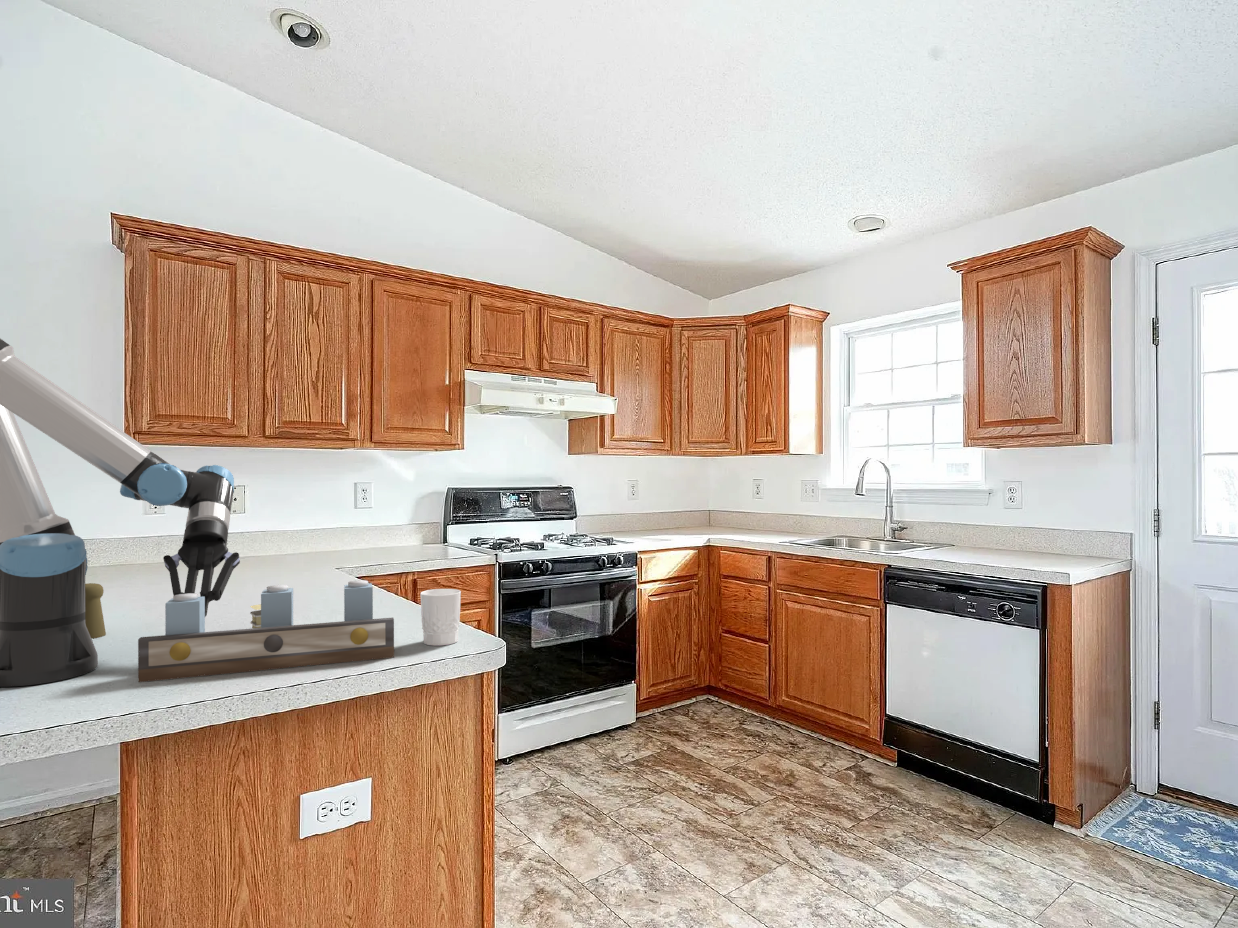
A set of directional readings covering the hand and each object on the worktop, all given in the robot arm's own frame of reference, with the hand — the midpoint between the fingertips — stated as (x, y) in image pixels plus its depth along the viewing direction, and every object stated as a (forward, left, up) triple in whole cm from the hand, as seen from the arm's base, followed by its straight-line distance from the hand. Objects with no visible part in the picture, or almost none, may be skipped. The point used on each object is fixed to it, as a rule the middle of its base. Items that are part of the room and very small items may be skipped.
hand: (191, 631), depth 126 cm
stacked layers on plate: (+16, +23, -7) cm, 29 cm away
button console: (+13, -5, -6) cm, 15 cm away
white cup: (+42, -11, -6) cm, 44 cm away
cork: (-15, +39, -6) cm, 43 cm away
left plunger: (-1, -4, -4) cm, 5 cm away
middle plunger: (+13, -4, -4) cm, 14 cm away
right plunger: (+27, -7, -4) cm, 28 cm away
